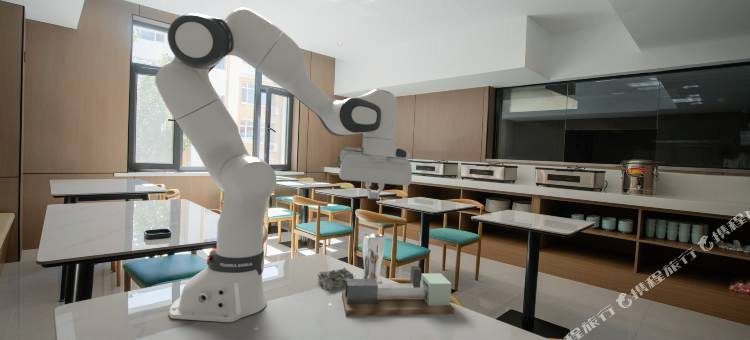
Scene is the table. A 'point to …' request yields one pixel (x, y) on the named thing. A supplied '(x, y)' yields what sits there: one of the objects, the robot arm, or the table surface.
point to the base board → (396, 307)
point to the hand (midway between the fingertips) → (373, 198)
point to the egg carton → (334, 278)
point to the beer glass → (373, 256)
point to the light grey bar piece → (405, 287)
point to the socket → (437, 289)
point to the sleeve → (361, 291)
